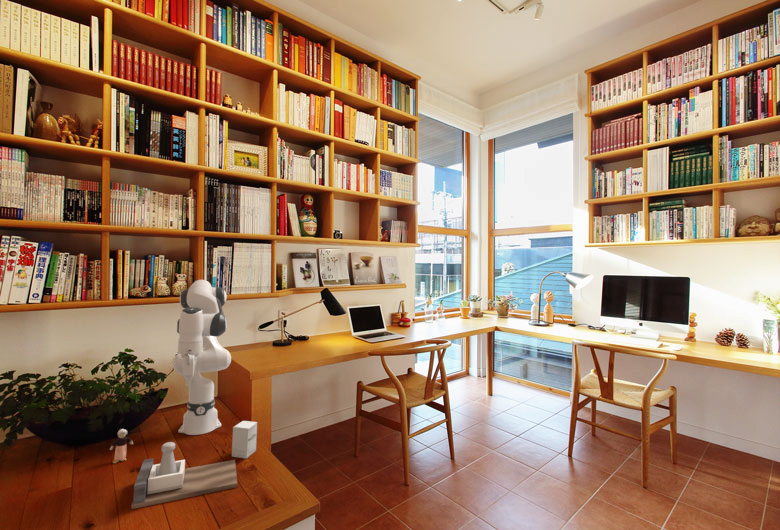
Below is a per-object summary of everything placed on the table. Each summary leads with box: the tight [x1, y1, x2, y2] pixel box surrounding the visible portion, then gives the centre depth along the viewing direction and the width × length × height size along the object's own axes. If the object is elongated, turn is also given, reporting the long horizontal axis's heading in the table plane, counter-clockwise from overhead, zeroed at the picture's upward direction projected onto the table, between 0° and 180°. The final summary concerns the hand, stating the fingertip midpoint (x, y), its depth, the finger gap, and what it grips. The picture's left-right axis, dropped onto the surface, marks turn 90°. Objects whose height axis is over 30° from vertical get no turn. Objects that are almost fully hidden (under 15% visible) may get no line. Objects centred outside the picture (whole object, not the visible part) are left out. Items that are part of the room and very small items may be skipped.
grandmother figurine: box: [109, 428, 134, 464], centre depth 149 cm, size 8×4×13 cm, turn 143°
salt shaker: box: [158, 441, 177, 476], centre depth 132 cm, size 6×6×13 cm
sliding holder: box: [147, 459, 186, 495], centre depth 131 cm, size 10×10×5 cm
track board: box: [130, 457, 238, 510], centre depth 134 cm, size 18×32×8 cm, turn 116°
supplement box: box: [231, 420, 258, 459], centre depth 157 cm, size 7×7×13 cm
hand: (189, 382), depth 148 cm, fingers open, 8 cm apart
